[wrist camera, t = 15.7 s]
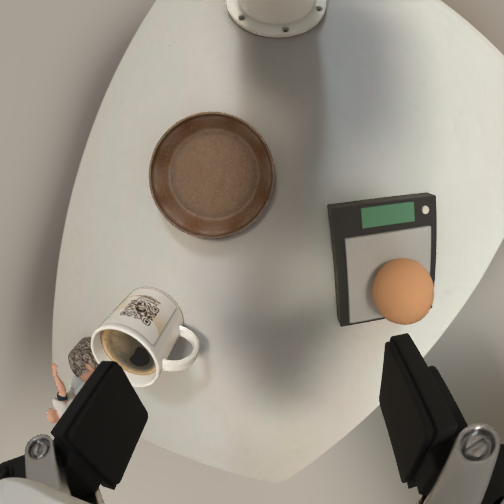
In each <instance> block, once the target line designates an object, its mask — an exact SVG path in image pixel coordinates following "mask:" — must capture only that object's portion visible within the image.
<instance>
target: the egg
mask: <svg viewBox="0 0 504 504" xmlns="http://www.w3.org/2000/svg"><path fill="white" fill-rule="evenodd" d="M372 296H373V301H374V304H375V306H376V308H377V309H378V311H379V312H380V314H381V315H382V316H383V317H385V318H386V319H387V320H389V321H391V322H393V323H397V324H403V325H407V324H413V323H416V322H418V321H420V320H421V319H422V318H424V317H425V316H426V314H427V313H428V312H429V310H430V308H431V306H432V303H433V298H434V285H433V281H432V279H431V276H430V274H429V272H428V271H427V270H426V269H425V268H424V266H422V265H421V264H420V263H418V262H417V261H415V260H412V259H409V258H398V259H394V260H392V261H389V262H388V263H386V264H385V265H384V266H383V267H382V268H381V269H380V270H379V271H378V273H377V274H376V276H375V278H374V281H373V287H372Z"/></svg>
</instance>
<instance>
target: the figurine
mask: <svg viewBox="0 0 504 504" xmlns="http://www.w3.org/2000/svg"><path fill="white" fill-rule="evenodd" d="M68 360H69V365H70V367H71V369H72V371H73V372H74V374H75V375H76V376H77V377H75V376H72V378H71V380H70V383H69V387H70V388H71V389H70V391H69V393H68V392H67V393H66V389H65V386H64V384H63V382H62V381H61V379H60V378H59V377H58V375H57V370H56V367H58V366H56V365H57V364H55V363H54V364H53V363H52V371H53V375H54V378H55V380H56V383H57V388H58V390H59V392H58V393H57V398H54V399H53V406H54V407H55V408H56V410H53V409H51V408H50V409H49V410H48V413H47V414H46V415H47V418H48V420H49V421H50V422H51V423H56V422H57V421H58V420H59V419H60V418H61V416H62V415H63V413H64V412H65V411H66V409H67V408H68V406H69V405H70V403H71V402H72V401H73V399H74V398H75V396H76V395H77V394H78V392H79V391H80V389H81V388H82V387H83V385H84V384H85V382H86V381H87V380H88V378H89V377H90V376H91V374H92V373H93V371H94V370H95V369H96V367H97V366H98V365H99V364H98V363H97V361H96V360H95V358H94V356H93V353H92V350H91V338H90V337H86V338H83V339H82V340H81V341H80V342H79V343H78V344H77V345H76V346H75V347H74V348H73V350H72V351H71V352H70V353H69V356H68Z"/></svg>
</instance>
